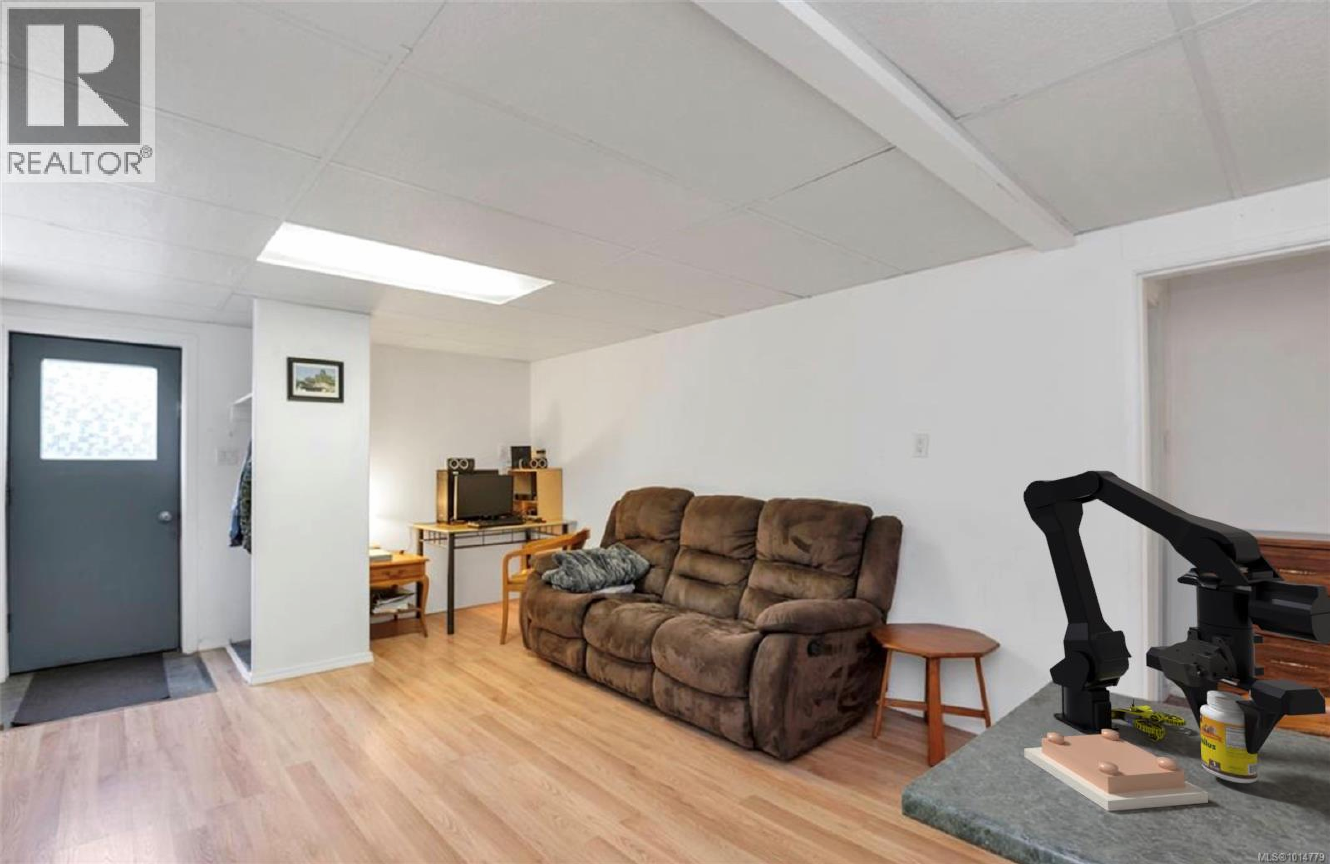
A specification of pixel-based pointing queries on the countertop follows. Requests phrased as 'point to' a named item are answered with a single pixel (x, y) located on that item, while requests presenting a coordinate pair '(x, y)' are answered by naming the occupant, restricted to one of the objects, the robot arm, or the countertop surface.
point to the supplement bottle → (1225, 739)
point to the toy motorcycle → (1147, 719)
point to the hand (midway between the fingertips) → (1228, 743)
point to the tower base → (1118, 798)
